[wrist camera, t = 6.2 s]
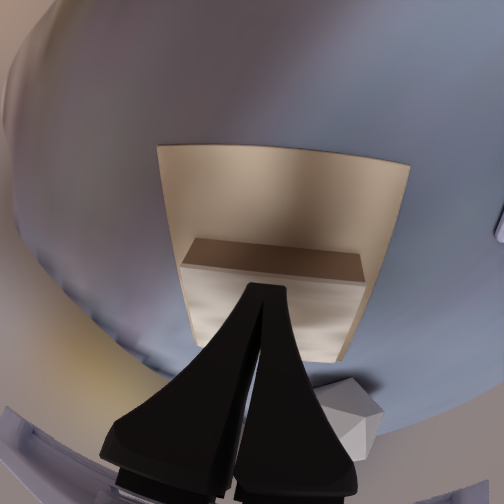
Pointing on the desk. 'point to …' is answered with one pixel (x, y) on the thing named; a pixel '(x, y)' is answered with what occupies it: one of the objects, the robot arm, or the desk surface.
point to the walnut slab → (278, 273)
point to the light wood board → (283, 202)
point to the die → (351, 415)
